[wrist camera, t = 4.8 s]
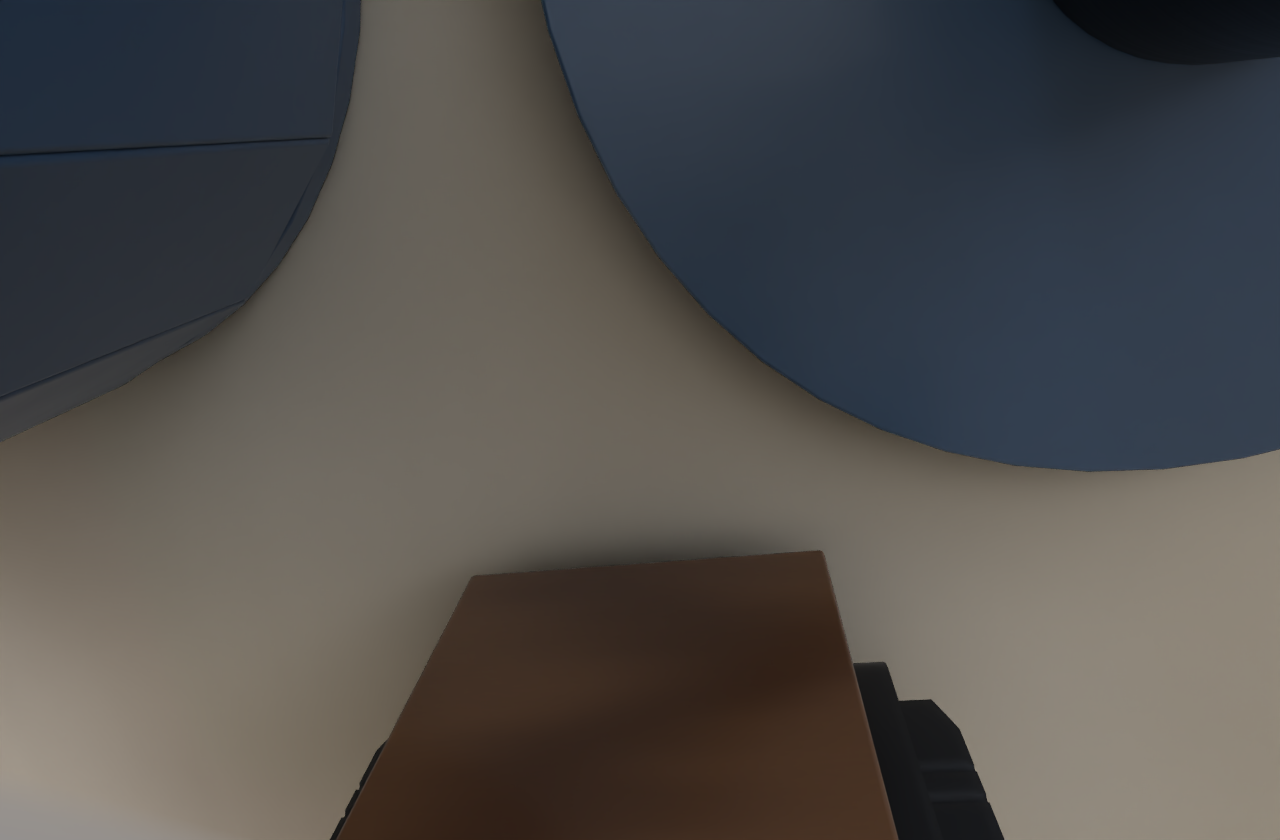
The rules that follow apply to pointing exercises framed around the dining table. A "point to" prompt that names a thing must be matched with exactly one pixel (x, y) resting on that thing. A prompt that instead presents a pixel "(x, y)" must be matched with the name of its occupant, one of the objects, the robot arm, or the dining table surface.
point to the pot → (151, 176)
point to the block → (635, 712)
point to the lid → (966, 208)
